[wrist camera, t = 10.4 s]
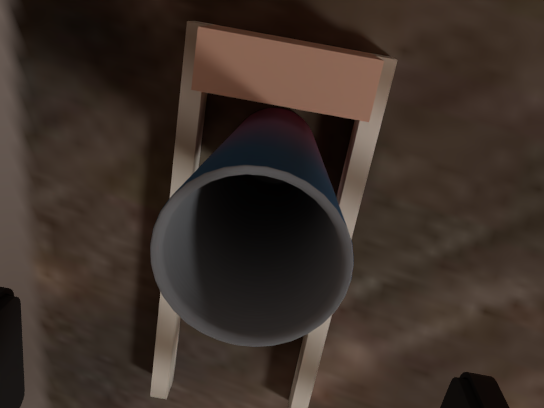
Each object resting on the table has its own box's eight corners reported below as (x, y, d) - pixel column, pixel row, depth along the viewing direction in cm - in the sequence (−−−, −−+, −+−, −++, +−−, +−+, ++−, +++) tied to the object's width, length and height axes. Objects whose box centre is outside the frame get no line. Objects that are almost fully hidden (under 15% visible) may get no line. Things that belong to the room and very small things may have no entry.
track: (194, 20, 28) (173, 22, 23) (391, 56, 28) (408, 65, 23) (157, 377, 37) (137, 429, 32) (303, 403, 37) (303, 458, 33)
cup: (317, 80, 28) (332, 143, 14) (339, 187, 31) (369, 330, 17) (207, 106, 29) (121, 189, 15) (236, 208, 32) (183, 360, 18)
